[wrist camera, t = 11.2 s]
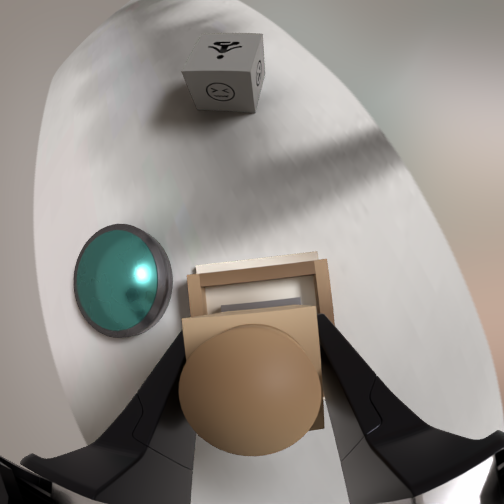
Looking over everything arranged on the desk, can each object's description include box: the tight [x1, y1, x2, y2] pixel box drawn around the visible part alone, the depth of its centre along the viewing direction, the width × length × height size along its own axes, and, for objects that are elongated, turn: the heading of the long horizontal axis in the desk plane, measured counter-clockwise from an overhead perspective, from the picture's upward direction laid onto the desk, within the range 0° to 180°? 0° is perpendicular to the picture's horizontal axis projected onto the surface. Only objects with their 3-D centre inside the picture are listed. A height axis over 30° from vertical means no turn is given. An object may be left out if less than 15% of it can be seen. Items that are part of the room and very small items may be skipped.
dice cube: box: [181, 33, 265, 113], centre depth 18 cm, size 5×5×5 cm
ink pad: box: [74, 224, 173, 338], centre depth 18 cm, size 8×8×2 cm
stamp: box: [179, 297, 324, 456], centre depth 11 cm, size 5×5×11 cm
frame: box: [187, 251, 335, 400], centre depth 17 cm, size 10×9×2 cm
